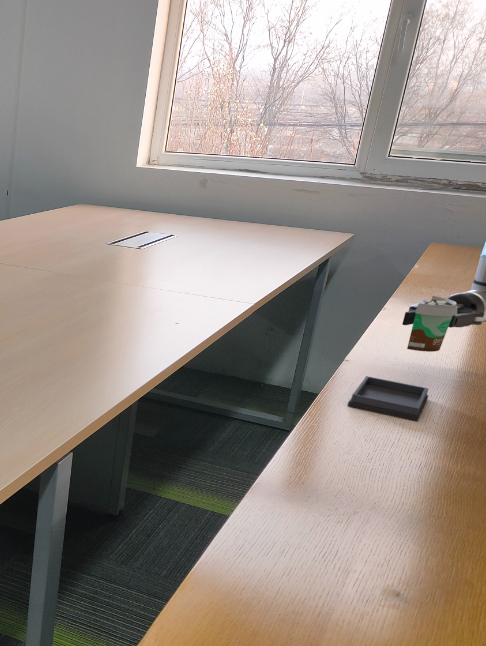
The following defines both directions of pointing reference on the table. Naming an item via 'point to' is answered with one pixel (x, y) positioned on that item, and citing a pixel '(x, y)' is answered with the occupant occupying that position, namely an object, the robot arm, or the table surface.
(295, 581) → the table surface
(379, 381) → the pad
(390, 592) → the table surface
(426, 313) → the food container
